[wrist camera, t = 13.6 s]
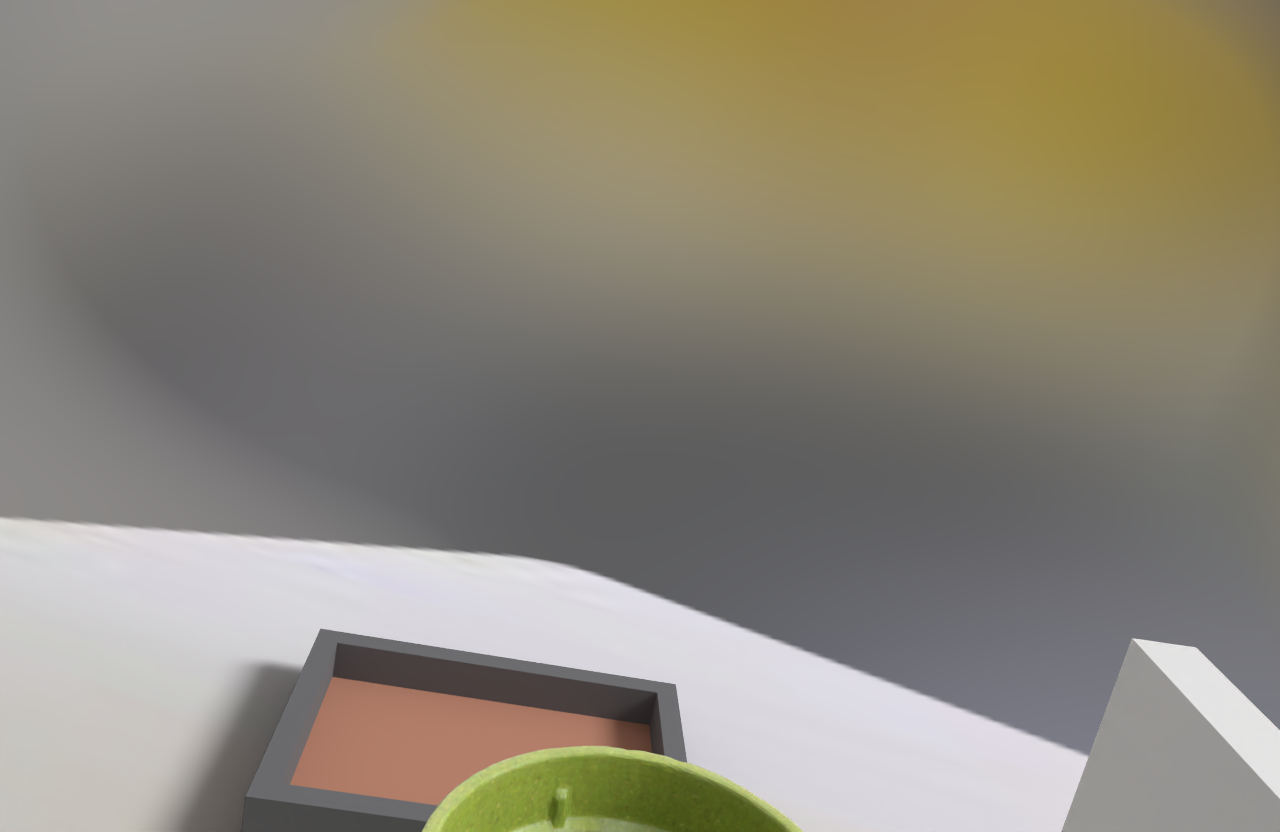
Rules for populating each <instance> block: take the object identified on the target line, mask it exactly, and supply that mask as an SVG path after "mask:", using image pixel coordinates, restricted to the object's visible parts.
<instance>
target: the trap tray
mask: <svg viewBox="0 0 1280 832" xmlns="http://www.w3.org/2000/svg"><path fill="white" fill-rule="evenodd" d="M575 746H608V747H613V748H621V749H626V750H638V751H646V752H650V753H654V754H658V755H663V756H667V757H670V758H672V759H674V760H677V761H681V762H686V763H687V759H686V752H685V746H684V739H683V732H682V725H681V718H680V711H679V704H678V698H677V691H676V684H670V683H663V682H657V681H650V680H644V679H638V678H631V677H625V676H618V675H612V674H606V673H599V672H593V671H587V670H580V669H574V668H567V667H561V666H555V665H548V664H542V663H536V662H529V661H523V660H516V659H510V658H504V657H497V656H491V655H484V654H478V653H472V652H465V651H459V650H453V649H446V648H440V647H433V646H427V645H421V644H414V643H408V642H401V641H395V640H389V639H382V638H376V637H370V636H363V635H357V634H350V633H344V632H338V631H331V630H325V629H320V631H319V633H318V636H317V638H316V640H315V642H314V645H313V647H312V649H311V651H310V654H309V656H308V658H307V660H306V662H305V665H304V667H303V669H302V671H301V674H300V676H299V678H298V680H297V683H296V685H295V687H294V689H293V692H292V694H291V696H290V698H289V700H288V703H287V705H286V707H285V709H284V712H283V714H282V716H281V718H280V721H279V723H278V725H277V727H276V729H275V732H274V734H273V736H272V738H271V741H270V743H269V745H268V747H267V750H266V752H265V754H264V756H263V758H262V761H261V763H260V765H259V767H258V770H257V772H256V774H255V776H254V779H253V781H252V783H251V785H250V787H249V790H248V792H247V794H246V797H245V805H244V813H243V822H242V830H241V832H422V830H423V828H424V826H425V824H426V823H427V821H428V819H429V817H430V816H431V814H432V813H433V811H434V810H435V809H436V807H437V806H438V805H439V803H440V802H441V801H442V800H443V799H444V798H445V797H446V795H448V794H449V793H450V792H451V791H452V790H453V789H454V788H456V787H457V786H458V785H459V784H461V783H462V782H463V781H465V780H466V779H468V778H469V777H470V776H472V775H474V774H475V773H477V772H479V771H481V770H483V769H485V768H487V767H489V766H491V765H492V764H495V763H498V762H500V761H503V760H505V759H508V758H512V757H515V756H518V755H522V754H525V753H530V752H534V751H538V750H543V749H551V748H563V747H575Z"/></svg>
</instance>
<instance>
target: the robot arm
mask: <svg viewBox="0 0 1280 832" xmlns="http://www.w3.org/2000/svg"><path fill="white" fill-rule="evenodd" d="M1062 832H1280V730H1279V729H1278V728H1277V727H1276V726H1275V725H1273V723H1272V722H1270V720H1269V719H1268V718H1267V717H1266V716H1265V715H1264V714H1263V713H1262V712H1261V711H1260V710H1259V709H1257V707H1255V706H1254V705H1253V704H1252V703H1251V702H1250V701H1249V700H1248V699H1247V698H1246V697H1245V696H1244V695H1243V694H1242V693H1241V692H1240V691H1239V690H1238V689H1237V688H1236V687H1235V686H1234V685H1233V684H1232V683H1231V682H1230V681H1229V680H1228V679H1227V678H1226V677H1225V676H1224V675H1223V674H1222V673H1221V672H1220V671H1219V670H1218V669H1217V668H1216V667H1215V666H1214V665H1213V664H1212V663H1211V662H1210V661H1209V660H1208V659H1207V658H1206V657H1205V656H1204V655H1203V654H1202V653H1201V652H1200V651H1199V650H1198V649H1197V648H1194V647H1188V646H1181V645H1174V644H1168V643H1161V642H1154V641H1147V640H1140V639H1133V638H1132V640H1131V643H1130V646H1129V648H1128V651H1127V654H1126V657H1125V660H1124V662H1123V665H1122V668H1121V670H1120V673H1119V676H1118V678H1117V681H1116V684H1115V687H1114V689H1113V693H1112V695H1111V698H1110V700H1109V703H1108V706H1107V709H1106V711H1105V714H1104V717H1103V720H1102V722H1101V725H1100V728H1099V730H1098V733H1097V736H1096V739H1095V741H1094V744H1093V747H1092V750H1091V752H1090V755H1089V758H1088V761H1087V763H1086V766H1085V769H1084V771H1083V774H1082V777H1081V780H1080V782H1079V785H1078V788H1077V791H1076V793H1075V796H1074V799H1073V802H1072V804H1071V807H1070V810H1069V812H1068V815H1067V818H1066V821H1065V823H1064V826H1063V829H1062Z"/></svg>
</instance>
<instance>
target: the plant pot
mask: <svg viewBox="0 0 1280 832" xmlns="http://www.w3.org/2000/svg"><path fill="white" fill-rule="evenodd" d="M422 832H803V831H802V830H801V829H800V828H799V827H798V826H797V825H796V824H795V823H794V822H793V821H792V820H791V819H789V818H788V817H786V816H785V815H784V814H782V813H781V812H780V811H779V810H777V809H776V808H774V807H773V806H771V805H770V804H769V803H767V802H765V801H763V800H761V799H759V798H758V797H757V796H756V795H754V794H752V793H751V792H749V791H747V790H746V789H745V788H743V787H742V786H739V785H737V784H735V783H734V782H732V781H730V780H728V779H726V778H724V777H722V776H720V775H718V774H716V773H713V772H711V771H708V770H706V769H703V768H701V767H698V766H696V765H693V764H690V763H686V762H681V761H677V760H674V759H672V758H670V757H667V756H663V755H658V754H654V753H650V752H646V751H638V750H626V749H621V748H613V747H608V746H575V747H563V748H551V749H543V750H538V751H534V752H530V753H525V754H522V755H518V756H515V757H512V758H508V759H505V760H503V761H500V762H498V763H495V764H492V765H491V766H489V767H487V768H485V769H483V770H481V771H479V772H477V773H475V774H474V775H472V776H470V777H469V778H468V779H466V780H465V781H463V782H462V783H461V784H459V785H458V786H457V787H456V788H454V789H453V790H452V791H451V792H450V793H449V794H448V795H446V797H445V798H444V799H443V800H442V801H441V802H440V803H439V805H438V806H437V807H436V809H435V810H434V811H433V813H432V814H431V816H430V817H429V819H428V821H427V823H426V824H425V826H424V828H423V830H422Z"/></svg>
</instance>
